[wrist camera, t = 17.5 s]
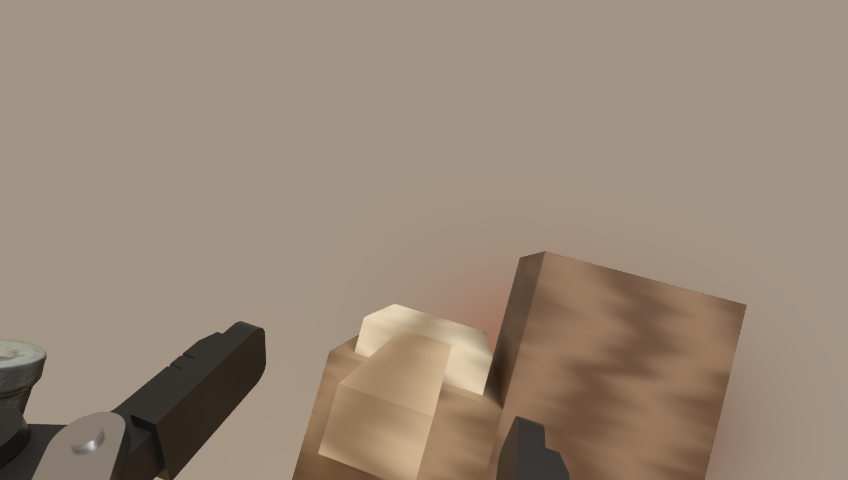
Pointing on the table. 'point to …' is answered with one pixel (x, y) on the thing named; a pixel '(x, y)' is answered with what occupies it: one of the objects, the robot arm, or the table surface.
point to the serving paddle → (400, 389)
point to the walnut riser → (575, 380)
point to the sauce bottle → (19, 372)
